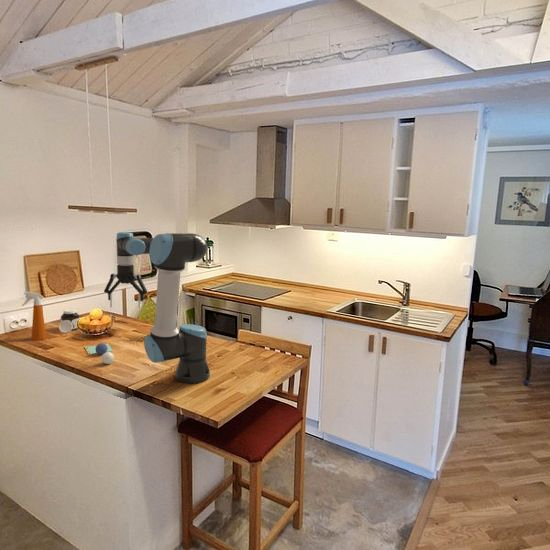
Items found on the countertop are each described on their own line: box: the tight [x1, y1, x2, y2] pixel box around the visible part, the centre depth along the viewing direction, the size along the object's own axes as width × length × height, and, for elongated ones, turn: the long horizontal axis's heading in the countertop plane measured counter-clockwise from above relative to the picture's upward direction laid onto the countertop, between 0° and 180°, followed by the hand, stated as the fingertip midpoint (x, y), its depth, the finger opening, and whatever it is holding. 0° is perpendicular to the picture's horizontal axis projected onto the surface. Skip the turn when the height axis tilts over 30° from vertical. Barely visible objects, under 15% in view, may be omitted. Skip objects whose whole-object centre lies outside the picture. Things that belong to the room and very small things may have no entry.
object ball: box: [96, 342, 107, 355], centre depth 204 cm, size 6×6×6 cm
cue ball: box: [101, 351, 115, 365], centre depth 193 cm, size 6×6×6 cm
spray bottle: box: [21, 291, 47, 341], centre depth 220 cm, size 7×11×26 cm, turn 123°
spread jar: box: [58, 308, 81, 334], centre depth 238 cm, size 12×11×12 cm
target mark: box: [84, 343, 114, 355], centre depth 211 cm, size 12×12×1 cm
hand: (126, 307), depth 202 cm, fingers open, 13 cm apart
